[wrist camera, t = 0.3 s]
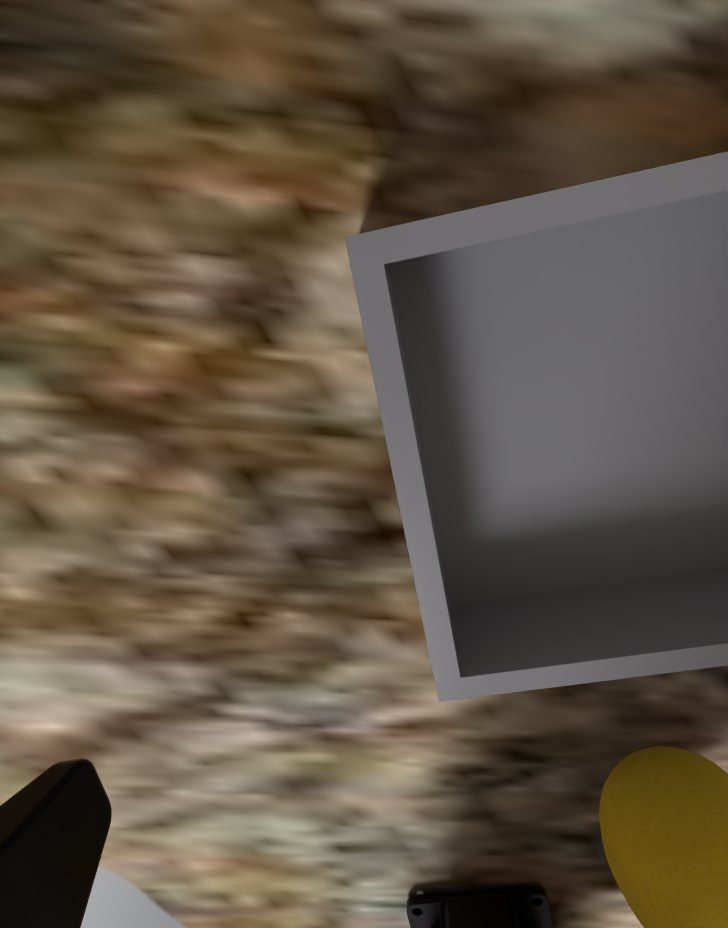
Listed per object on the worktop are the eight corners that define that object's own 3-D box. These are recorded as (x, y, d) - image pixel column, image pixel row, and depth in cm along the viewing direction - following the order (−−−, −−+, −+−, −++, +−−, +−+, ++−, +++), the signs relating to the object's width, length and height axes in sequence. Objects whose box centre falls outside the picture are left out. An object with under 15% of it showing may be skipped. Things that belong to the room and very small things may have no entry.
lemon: (698, 686, 23) (840, 893, 16) (723, 788, 25) (862, 1019, 18) (559, 721, 24) (631, 931, 17) (592, 817, 26) (671, 1047, 18)
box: (819, 563, 21) (922, 641, 17) (431, 618, 23) (439, 701, 19) (839, 132, 17) (987, 92, 13) (356, 239, 19) (344, 236, 14)
